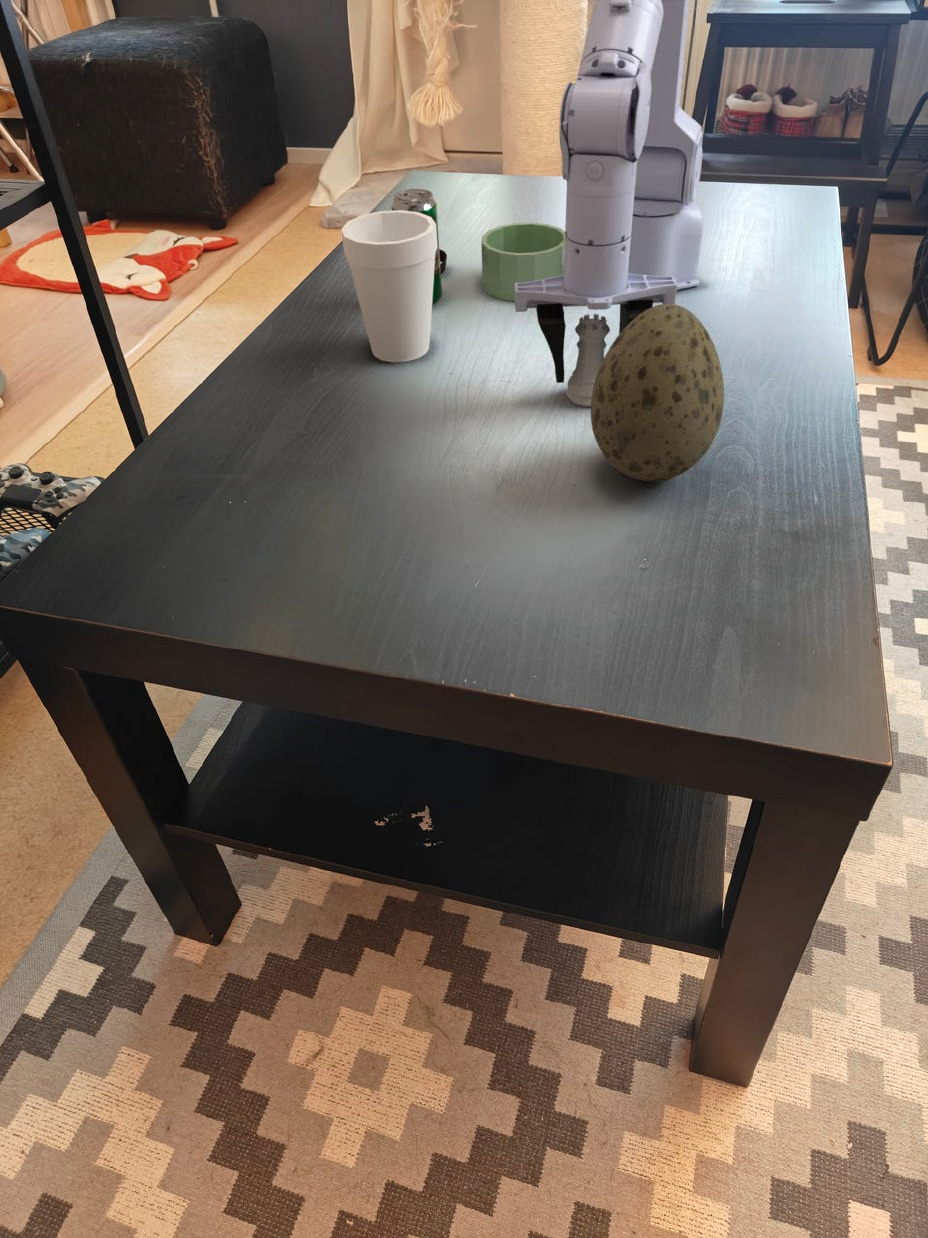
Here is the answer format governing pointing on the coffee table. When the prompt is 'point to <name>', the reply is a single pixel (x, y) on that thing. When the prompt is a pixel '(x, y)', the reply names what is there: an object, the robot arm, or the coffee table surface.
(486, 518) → the coffee table surface
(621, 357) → the decorative egg
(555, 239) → the green cup
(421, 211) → the soda can
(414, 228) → the foam cup
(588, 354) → the rook chess piece
